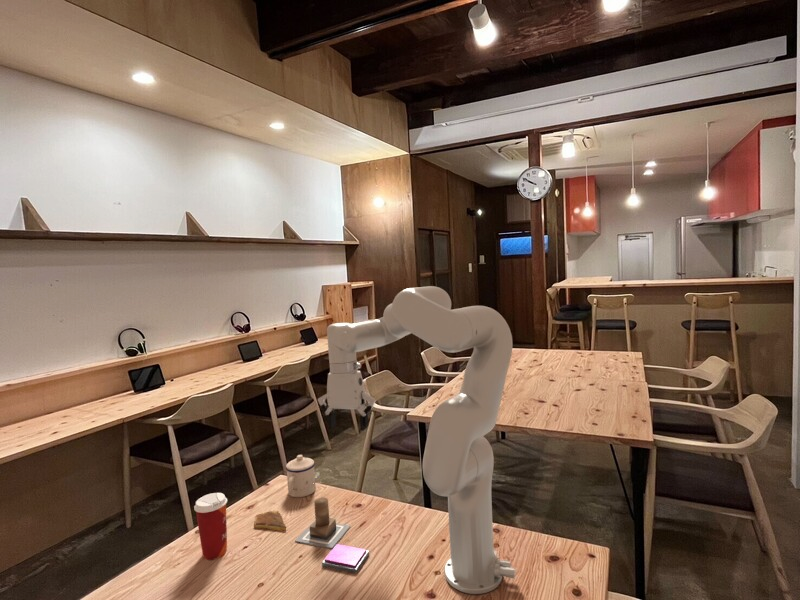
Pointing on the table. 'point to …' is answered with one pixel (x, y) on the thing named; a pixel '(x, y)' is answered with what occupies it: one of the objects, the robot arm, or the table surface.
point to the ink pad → (345, 558)
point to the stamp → (322, 520)
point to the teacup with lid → (301, 477)
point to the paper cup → (212, 524)
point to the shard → (270, 521)
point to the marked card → (328, 543)
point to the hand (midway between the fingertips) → (348, 428)
